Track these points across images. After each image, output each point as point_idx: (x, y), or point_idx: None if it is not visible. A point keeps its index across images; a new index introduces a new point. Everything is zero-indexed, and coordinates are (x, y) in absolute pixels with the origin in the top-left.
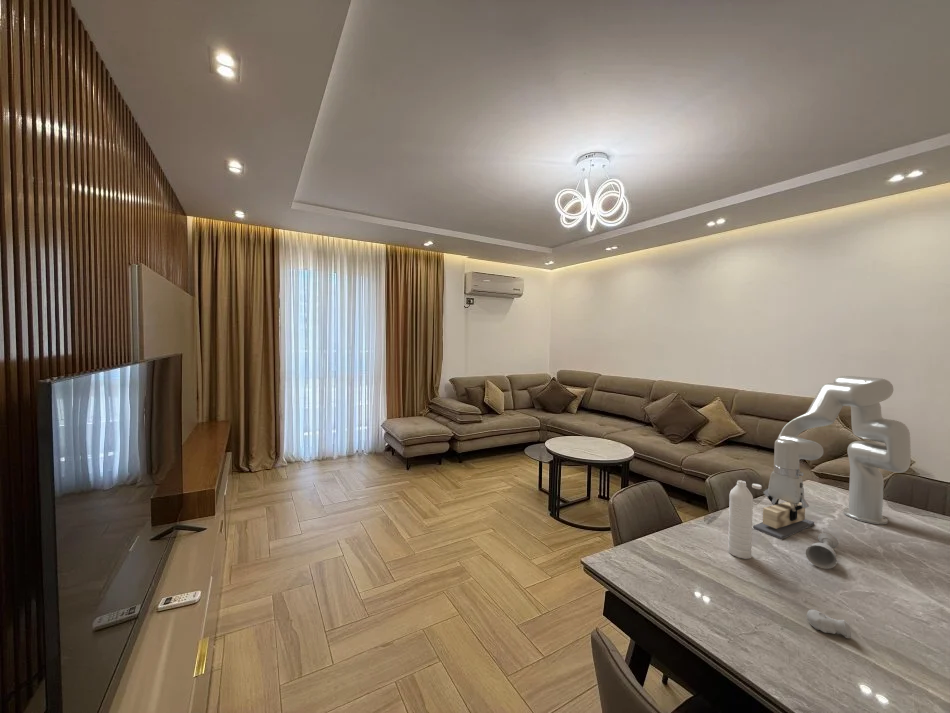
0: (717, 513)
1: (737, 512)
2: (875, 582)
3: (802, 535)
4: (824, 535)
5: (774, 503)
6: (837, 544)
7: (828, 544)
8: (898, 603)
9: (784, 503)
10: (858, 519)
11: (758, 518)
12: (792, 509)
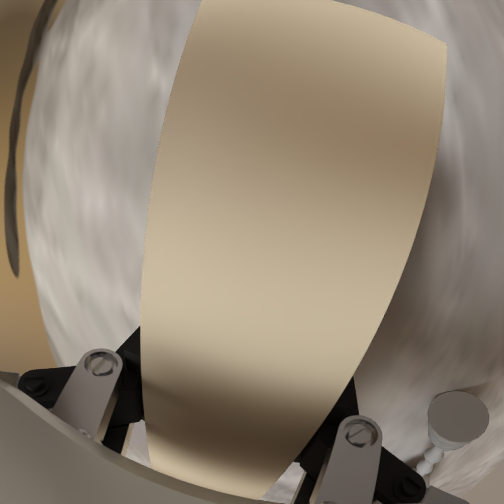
0: (53, 353)
1: None
2: (474, 456)
3: (369, 353)
4: (450, 447)
5: (125, 419)
6: (481, 407)
7: (440, 458)
8: (469, 476)
9: (167, 324)
10: None
11: (125, 285)
12: (310, 470)
